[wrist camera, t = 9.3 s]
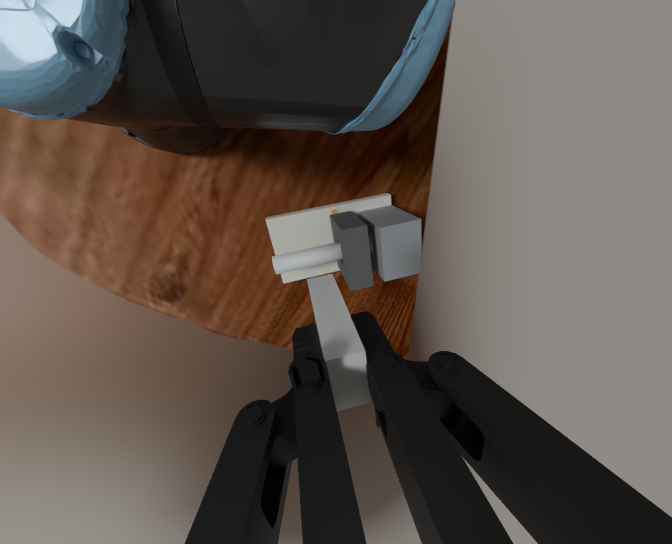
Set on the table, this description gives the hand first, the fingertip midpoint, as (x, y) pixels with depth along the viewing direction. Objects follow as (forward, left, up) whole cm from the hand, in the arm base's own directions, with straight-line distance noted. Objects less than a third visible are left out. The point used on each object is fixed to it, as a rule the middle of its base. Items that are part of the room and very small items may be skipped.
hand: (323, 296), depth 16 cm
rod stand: (+4, -5, -25) cm, 25 cm away
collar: (+6, -5, -23) cm, 24 cm away
